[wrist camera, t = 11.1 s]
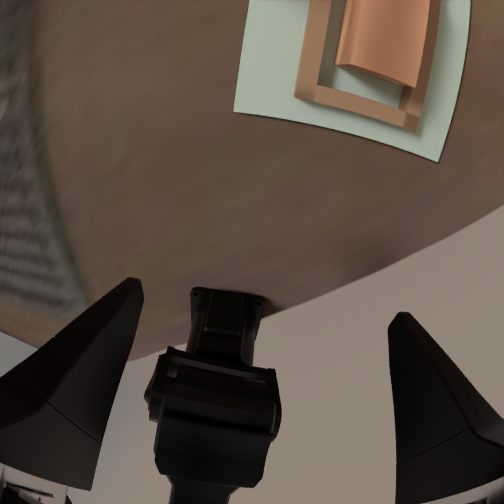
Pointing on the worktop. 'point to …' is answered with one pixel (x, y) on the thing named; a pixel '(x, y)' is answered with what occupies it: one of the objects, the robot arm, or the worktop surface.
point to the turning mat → (349, 74)
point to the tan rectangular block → (383, 38)
